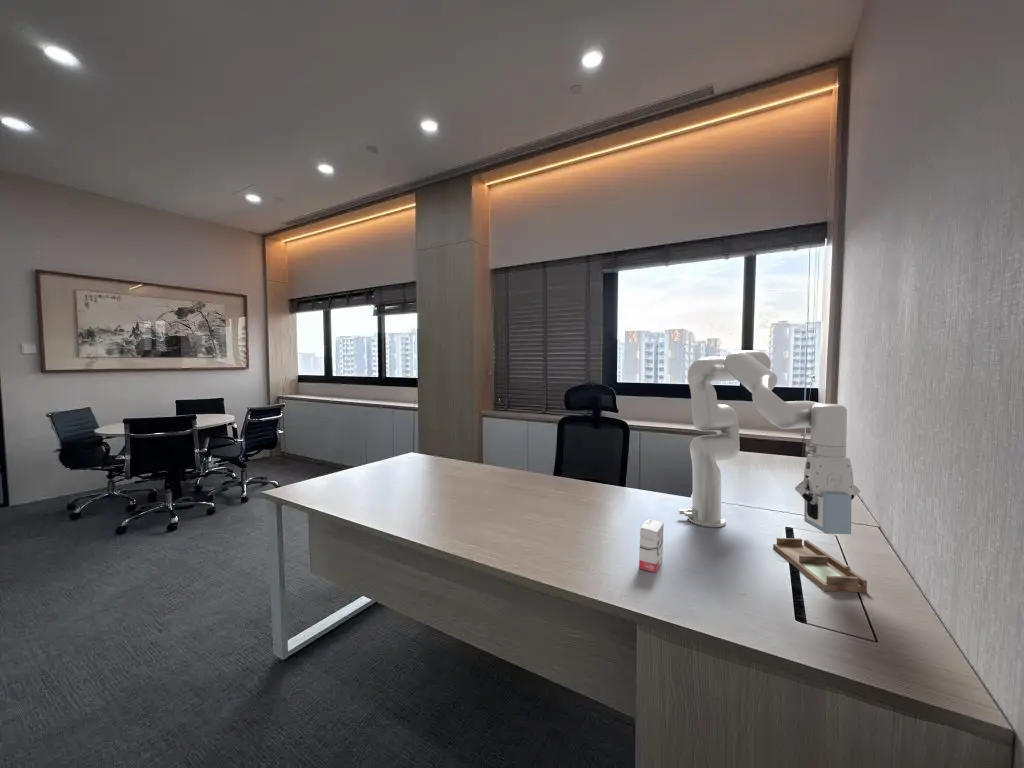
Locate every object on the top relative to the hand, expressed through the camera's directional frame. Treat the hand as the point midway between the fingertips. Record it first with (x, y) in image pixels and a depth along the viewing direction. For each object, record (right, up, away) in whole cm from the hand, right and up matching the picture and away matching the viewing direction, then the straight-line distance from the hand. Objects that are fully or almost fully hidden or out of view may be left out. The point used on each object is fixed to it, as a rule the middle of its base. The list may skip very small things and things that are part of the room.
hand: (826, 517), depth 110 cm
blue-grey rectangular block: (0, -3, 0) cm, 3 cm away
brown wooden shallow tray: (+2, -16, +6) cm, 18 cm away
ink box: (-43, -17, +10) cm, 47 cm away
